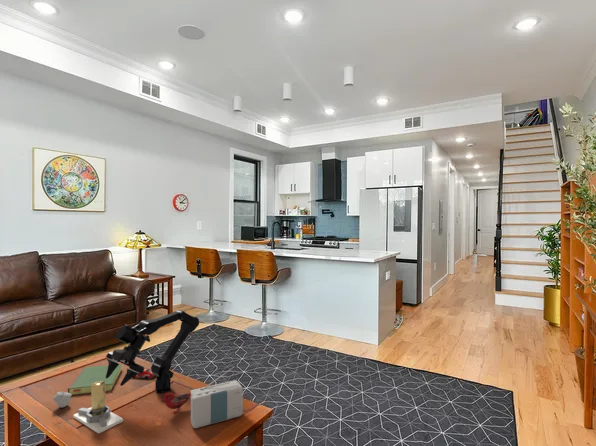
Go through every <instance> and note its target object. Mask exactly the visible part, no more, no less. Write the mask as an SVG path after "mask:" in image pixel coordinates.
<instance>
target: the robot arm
mask: <svg viewBox="0 0 596 446" xmlns="http://www.w3.org/2000/svg"><path fill="white" fill-rule="evenodd" d="M177 321H181V322H180V329H179V331H178V332H177V334H176V335H175V337H174V338H173V340H172V341H171V343H170V344H169V346H168V348H167V349H166V350H165V352H164V353H163V355H161V356H156V357H155V359H154V361H153V362H152V363H151V367H150V370H151V372H152V373H153V374H154V377H156V379H155V381H154V389H155V391H156V393H157V394H160V393H165V392H166V393H167V392H171V391H172V387H171V379H172V378H173V377H174V372H173V371H171V367H172V361H173V359H174V358H175V356H176V355H177V353H178V352H179V350H180V349H181V346H182V345H183V344H184V342H185V340H186V338H187V337H188V336H189V335H190V334H192V333H193V332H194V331H195V330H196V329H197V328H198V327H199V324H200V319H199V318H198V317H197V316H194V315H190V314H188V313H187V312H185V311H184V310H180V309H178V310H175V311H173V312H171V313H168V314H165V315H163V316H161V317H157V318H150V319H144V320H141V321H139V323H138V324H136V325H134V326H132V327H131V326H129V325H128V324H124V325H123V326H122V327H120V328H119V329H118V330H117V331H116V332H115V333H116V334H115V339H116V340H118V341H121V342H122V343H125V344H128V345H127V346H126V345H125V346H124V347H123V348H122V349H121V348H120V349H119V348H118V349H117V348H116V349H113V351H109V352H107V354H106V356H105V358H106V361H107V365H108V370H107V374H106V378H108V377H109V376H110V375H111V374H112V373H113V371H114V370H115V369H116V368H117V366H118V365H119V364H122V365H125V366H127V367H128V368H126V374H125V375H124V377H123V379H122V380H121V382H120V385H119V386H121V387H123V386H124V385H126V384H127V383H128V382H129V381H130V380H131V379H134V378H133V377H134V376H136V375H137V374H138V375H139V373H141V374H142V373H143V371H144V369H145V366H143V365H140V364H138V363H136V361H135V360H136V358H137V357H138V356H140V354H141V352H140V351H141V349H142V348H143V346H144V344H145V343H146V342H148V343H151V339H150V336H151V335H152V334H154V333H156V332H157V331H158V330H159V329H160V328H162V327H164V326H167V325H170V324H172V323H175V322H177Z"/></svg>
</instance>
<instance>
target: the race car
mask: <svg viewBox="0 0 596 446" xmlns="http://www.w3.org/2000/svg"><path fill="white" fill-rule="evenodd" d="M154 378H155V376H154V374H153V373H152V372H151V368H150V369H149V368H144V371H143V373H142V374H141V373H139V375H138V374H137V375H136V376H134V377H133V378H132V379H141V380H142V379H144V380H149V379H154Z"/></svg>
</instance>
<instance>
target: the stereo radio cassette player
mask: <svg viewBox="0 0 596 446" xmlns="http://www.w3.org/2000/svg"><path fill="white" fill-rule="evenodd" d="M235 367H236V366H234V365H233V367H232V368H230V369H229V370H227V371H225V372H224V373H223V374H221V375H220V376H218V377H217V378H215V379H214V380H213V381H212V382H210V383H209V384H207V385H206V386H204V387H200V388H195V389H191V390H190V393H191V396H190V423H191V425H192V427H193V428H194V429H198V428H203V427H205V426H209V425H213V424H216V423H220V422H223V421H228V420H231V419H234V418H239V417H241V416H242V415H243V411H244V410H243V407H244V405H243V404H244V403H243V402H244V401H243V400H244V387H243V386H242V385H241V383H240V382H239V381H238V380H236V379H235V380H230V381H226V382H221V383H217V384H214V383H215V382H216V381H218V380H219V379H220V378H221V377H223V376H225V375H226V374H227V373H228V372H230V371H231V370H232V369H233V368H235Z"/></svg>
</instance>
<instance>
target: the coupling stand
mask: <svg viewBox="0 0 596 446" xmlns="http://www.w3.org/2000/svg"><path fill="white" fill-rule="evenodd" d="M91 409H92V406H91V407H88V408H87V407H80V408H78V410H77V411H78V412H77V413H74V414H73V419H74V420H76V421H78V422H79V423H81V424H82V425H84V426H86V427H87V428H89V429H90V430H92V431H93V432H95V433H97V434H100V433H103V432H105V431H107V430H109V429H111V428H112V427H115V426H117V425H118V424H121V423H123V422H124V418H123V417H121V416H120V415H118V414H116V413H114V412H112V411H111V407H110V406H108V405H106V409H105V413H102V414H100V415H93V416H92V412H91Z"/></svg>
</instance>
